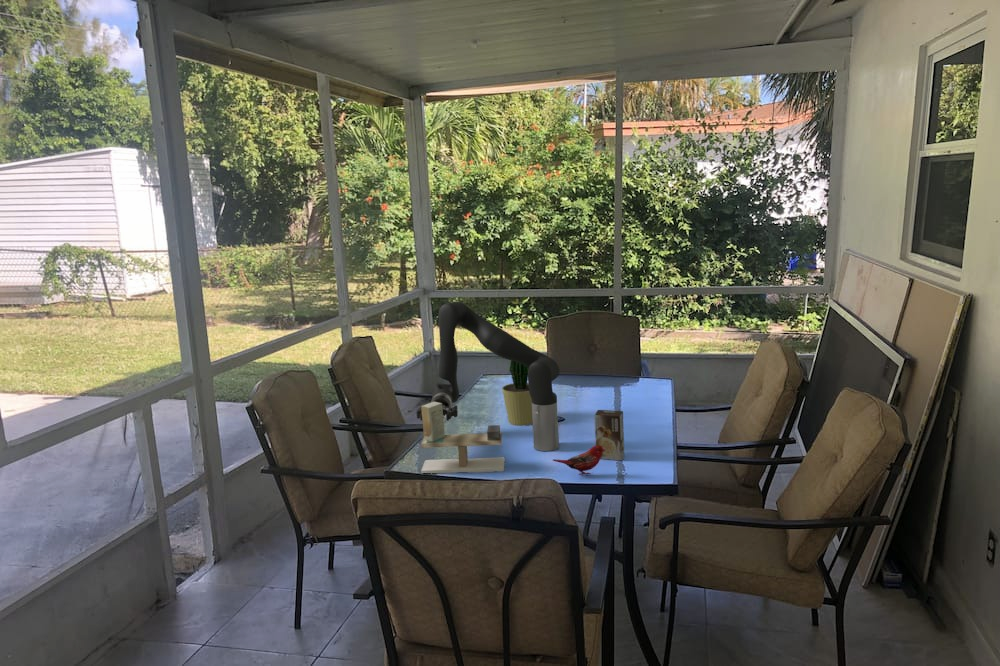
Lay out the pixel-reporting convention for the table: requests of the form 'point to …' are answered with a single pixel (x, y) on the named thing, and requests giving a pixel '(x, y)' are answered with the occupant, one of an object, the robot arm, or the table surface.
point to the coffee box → (610, 433)
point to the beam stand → (463, 464)
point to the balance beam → (467, 439)
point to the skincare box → (433, 421)
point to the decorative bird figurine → (584, 459)
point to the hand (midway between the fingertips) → (435, 418)
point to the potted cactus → (518, 396)
